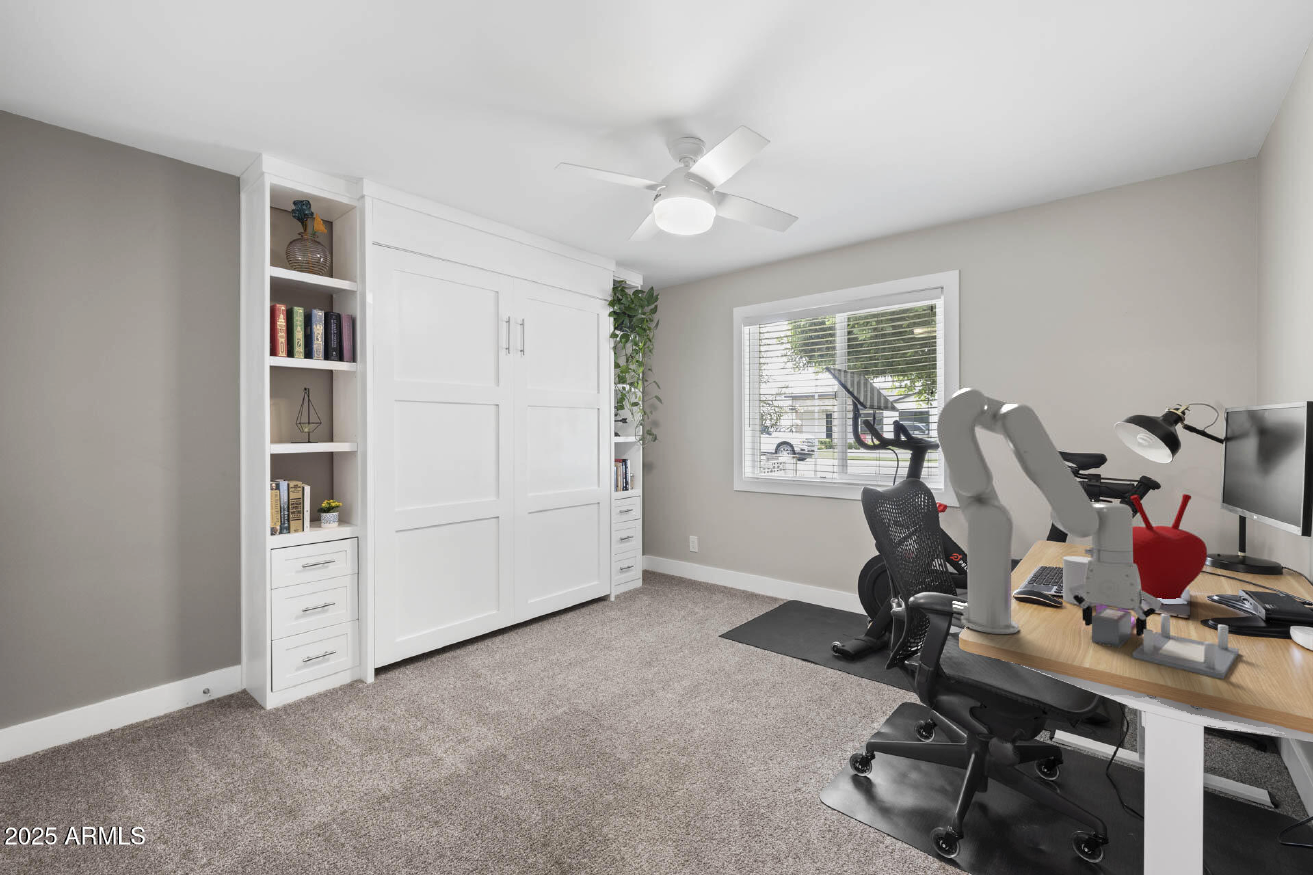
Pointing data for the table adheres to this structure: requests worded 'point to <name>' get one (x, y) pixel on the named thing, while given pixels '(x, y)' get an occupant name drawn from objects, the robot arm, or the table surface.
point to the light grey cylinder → (1074, 576)
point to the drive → (1111, 627)
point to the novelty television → (1166, 555)
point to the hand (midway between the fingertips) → (1113, 629)
